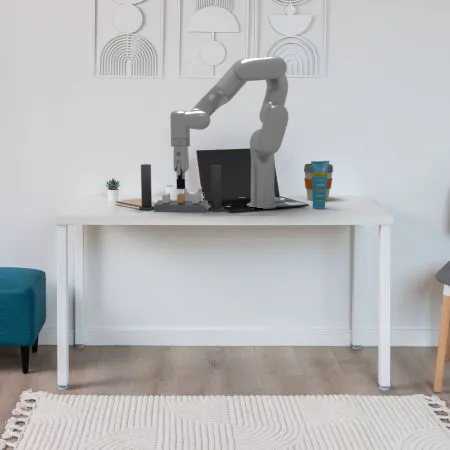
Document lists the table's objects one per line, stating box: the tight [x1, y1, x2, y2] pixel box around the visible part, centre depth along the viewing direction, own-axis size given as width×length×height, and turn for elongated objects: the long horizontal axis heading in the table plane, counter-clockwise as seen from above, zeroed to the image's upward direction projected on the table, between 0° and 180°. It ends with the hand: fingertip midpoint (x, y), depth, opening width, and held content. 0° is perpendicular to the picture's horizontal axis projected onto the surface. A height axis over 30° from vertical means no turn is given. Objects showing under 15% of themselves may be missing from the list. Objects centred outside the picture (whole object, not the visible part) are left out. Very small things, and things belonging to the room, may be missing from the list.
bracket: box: [183, 186, 205, 201], centre depth 326 cm, size 13×7×8 cm, turn 176°
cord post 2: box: [208, 164, 225, 213], centre depth 305 cm, size 6×6×18 cm
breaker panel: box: [153, 199, 209, 213], centre depth 308 cm, size 20×10×3 cm, turn 85°
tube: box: [310, 160, 330, 210], centre depth 310 cm, size 7×5×19 cm, turn 104°
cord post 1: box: [138, 163, 154, 212], centre depth 308 cm, size 6×6×18 cm
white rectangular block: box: [161, 192, 171, 203], centre depth 308 cm, size 2×5×3 cm, turn 174°
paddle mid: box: [176, 192, 185, 203], centre depth 307 cm, size 2×5×3 cm, turn 175°
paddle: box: [192, 194, 200, 204], centre depth 307 cm, size 2×5×3 cm, turn 175°
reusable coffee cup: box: [303, 163, 334, 202], centre depth 333 cm, size 13×13×15 cm
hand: (180, 188), depth 306 cm, fingers closed
